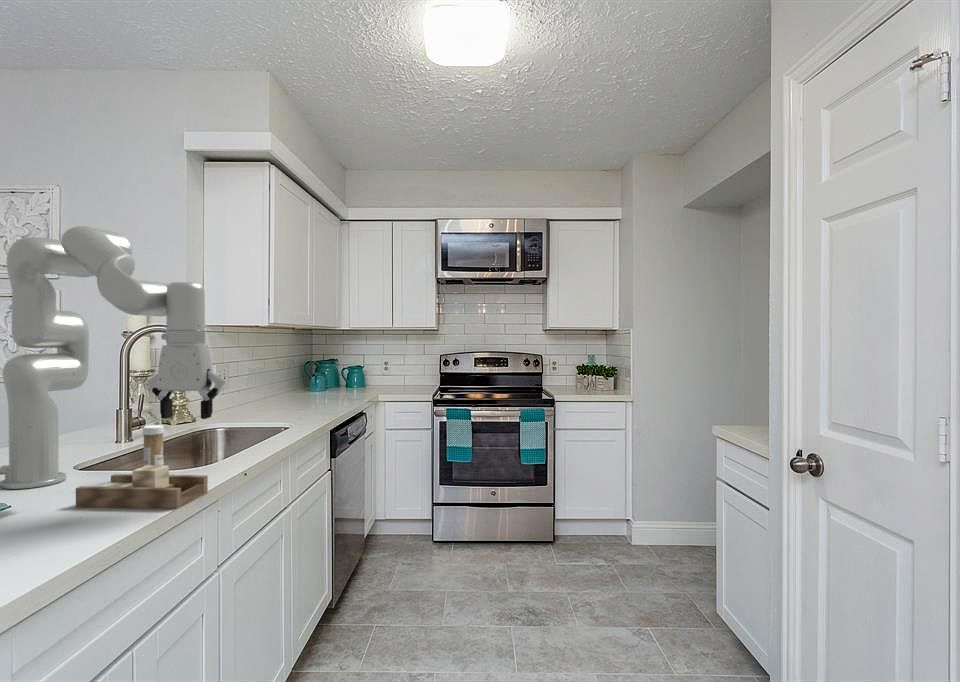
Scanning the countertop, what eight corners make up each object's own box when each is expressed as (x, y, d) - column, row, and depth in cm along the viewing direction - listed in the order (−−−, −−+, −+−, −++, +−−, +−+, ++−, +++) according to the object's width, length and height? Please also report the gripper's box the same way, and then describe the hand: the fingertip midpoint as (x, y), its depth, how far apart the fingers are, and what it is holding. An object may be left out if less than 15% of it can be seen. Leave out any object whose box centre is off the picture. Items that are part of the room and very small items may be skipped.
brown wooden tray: (75, 507, 119) (75, 488, 118) (115, 491, 131) (115, 474, 130) (176, 508, 117) (176, 489, 117) (207, 492, 129) (207, 475, 129)
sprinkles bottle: (164, 479, 141) (164, 426, 141) (143, 482, 138) (143, 428, 138) (163, 476, 145) (163, 424, 144) (142, 478, 142) (142, 425, 142)
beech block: (132, 491, 121) (132, 470, 121) (147, 485, 126) (147, 465, 126) (154, 491, 121) (154, 471, 121) (168, 485, 126) (168, 465, 126)
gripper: (136, 339, 120) (136, 420, 120) (215, 338, 119) (216, 420, 119) (158, 338, 127) (158, 415, 128) (233, 338, 127) (233, 415, 127)
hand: (186, 417), depth 123 cm, fingers open, 8 cm apart
